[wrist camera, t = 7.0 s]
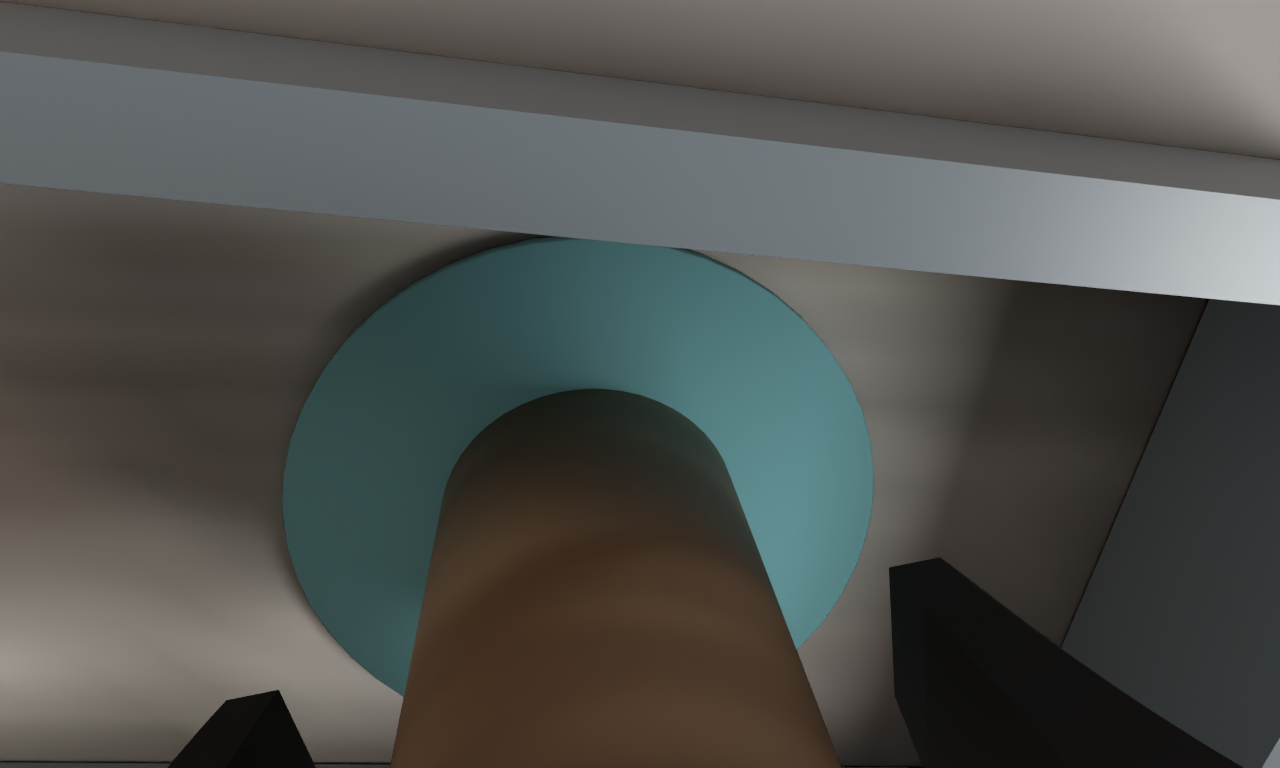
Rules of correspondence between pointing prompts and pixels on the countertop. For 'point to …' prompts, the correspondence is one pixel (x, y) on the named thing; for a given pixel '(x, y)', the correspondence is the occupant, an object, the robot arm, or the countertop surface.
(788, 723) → the walnut cylinder
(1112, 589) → the grey angular frame piece
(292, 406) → the countertop surface
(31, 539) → the countertop surface
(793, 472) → the pad
